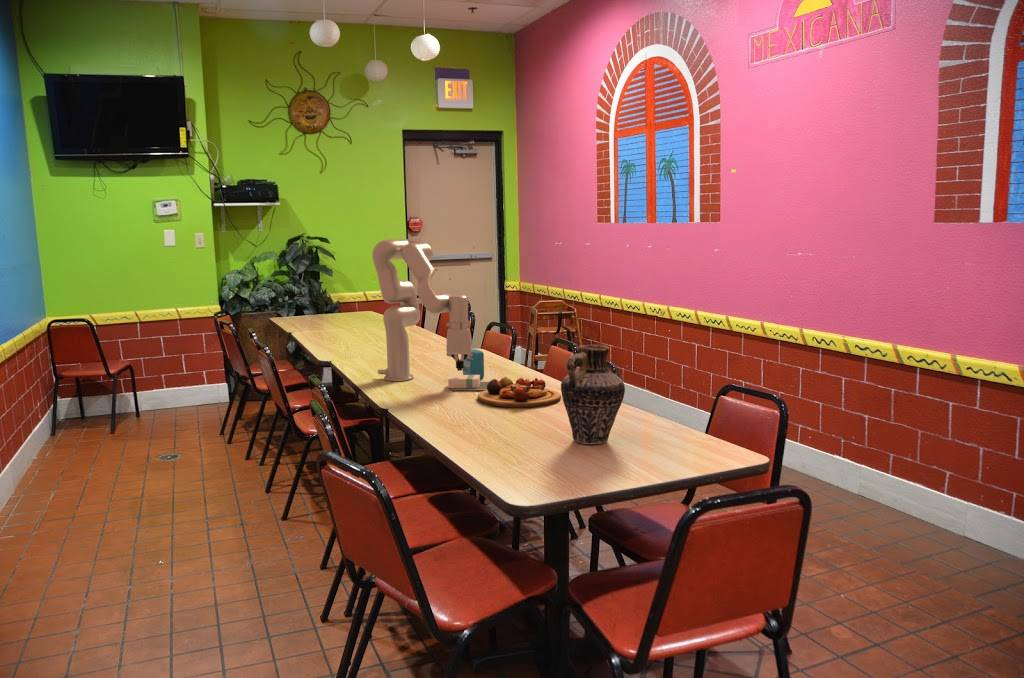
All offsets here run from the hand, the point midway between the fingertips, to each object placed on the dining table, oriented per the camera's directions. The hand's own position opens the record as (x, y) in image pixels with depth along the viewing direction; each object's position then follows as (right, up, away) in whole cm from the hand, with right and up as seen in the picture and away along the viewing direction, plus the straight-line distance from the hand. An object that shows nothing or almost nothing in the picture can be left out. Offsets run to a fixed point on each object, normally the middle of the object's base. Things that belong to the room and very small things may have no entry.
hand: (459, 370), depth 331 cm
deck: (-4, -5, +1) cm, 6 cm away
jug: (+46, -19, -81) cm, 95 cm away
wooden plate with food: (+24, -11, -21) cm, 34 cm away
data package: (+4, -4, +22) cm, 22 cm away
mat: (+7, -7, +1) cm, 10 cm away
